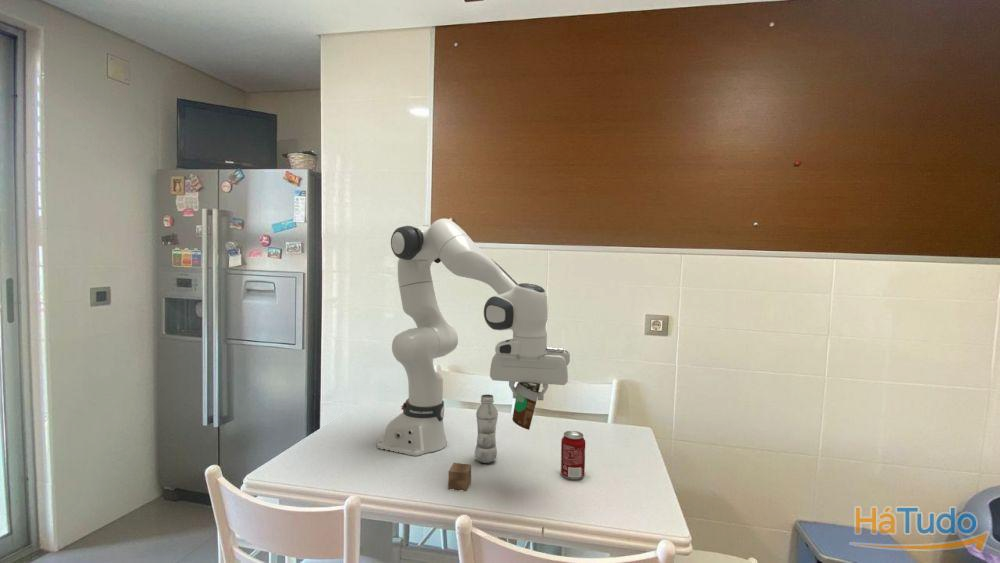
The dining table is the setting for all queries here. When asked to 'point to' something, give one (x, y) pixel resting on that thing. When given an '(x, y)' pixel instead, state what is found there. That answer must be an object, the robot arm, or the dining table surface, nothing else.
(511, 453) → the dining table surface
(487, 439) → the plastic bottle
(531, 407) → the food container
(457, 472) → the walnut block
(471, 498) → the dining table surface
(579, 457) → the soda can
